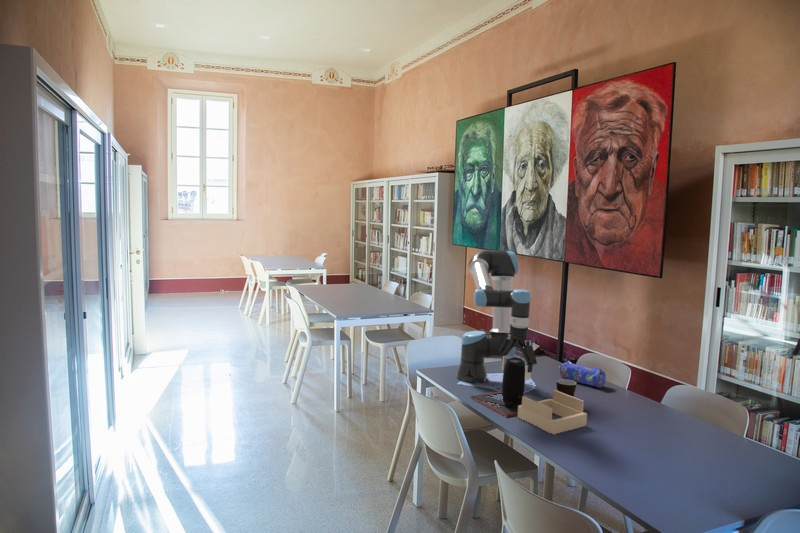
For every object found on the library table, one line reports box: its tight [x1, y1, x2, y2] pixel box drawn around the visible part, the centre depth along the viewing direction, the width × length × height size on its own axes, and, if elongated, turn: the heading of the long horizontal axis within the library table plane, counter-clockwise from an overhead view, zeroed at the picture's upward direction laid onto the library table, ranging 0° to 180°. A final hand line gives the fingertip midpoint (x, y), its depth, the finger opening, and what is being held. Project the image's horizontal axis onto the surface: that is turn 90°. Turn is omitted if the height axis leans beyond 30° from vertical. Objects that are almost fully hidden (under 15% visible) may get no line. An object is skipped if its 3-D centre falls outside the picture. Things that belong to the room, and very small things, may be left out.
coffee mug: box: [555, 378, 577, 397], centre depth 241 cm, size 12×9×10 cm
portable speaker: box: [501, 356, 526, 406], centre depth 233 cm, size 9×9×20 cm
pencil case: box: [558, 360, 607, 389], centre depth 272 cm, size 22×9×10 cm, turn 45°
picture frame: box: [469, 390, 522, 418], centre depth 237 cm, size 20×2×25 cm
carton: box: [516, 389, 588, 435], centre depth 218 cm, size 19×19×10 cm
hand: (515, 374), depth 232 cm, fingers open, 13 cm apart
